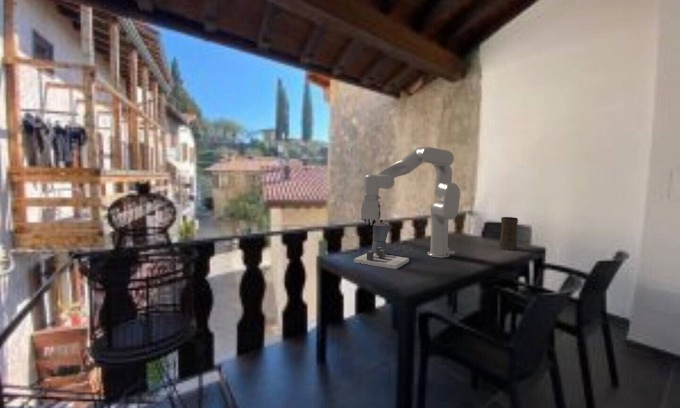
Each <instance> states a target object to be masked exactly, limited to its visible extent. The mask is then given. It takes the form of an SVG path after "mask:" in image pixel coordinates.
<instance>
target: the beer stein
mask: <svg viewBox="0 0 680 408" xmlns="http://www.w3.org/2000/svg"><path fill="white" fill-rule="evenodd" d="M500 221H501V230H500V238H499V242H498V243H499V245H498V248H499V247H500V248H503V249H502V250H504V249H516V248H517V249H518V247H517V245H518V243H517V240H518V237H517V235H518V232H517V231H518V223H519V219H518V217H512V216H502V217H501V218H500ZM500 248H499V249H500ZM517 249H516V250H517Z"/></svg>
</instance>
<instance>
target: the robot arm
mask: <svg viewBox="0 0 680 408" xmlns="http://www.w3.org/2000/svg"><path fill="white" fill-rule="evenodd" d="M454 159H455V157H454V154H453V153H452V152H451V151H450V150H446V149H440V148H435V147H429V146H420V147H417V148H415V149H414V150H412V151H411V152H410V153H408V154H407V155H406V156H404V157H403V158H402V159H400V160H398V161H396V162H394V163H393V164H391V165H389V166H387V167H386V168H384V169H383V170H381V171H380V172H378V173H377V174H367V175H365V177H364V193H363V194H364V195H363V200H362V204H361V208H360V209H361V210H360V221H363V222H365V224H366V225H367V230H366V233H367V232H369V233H373V224H375V223H380V220H381V217H382V211H381V210H382V209H381V208H382V207H381V201H380V200H381V196H379V194H380V193H379V191H380V190H379V189H384V190H390V189H391V188H393V187H394V185H395V183H396V182H395V178H397V177H402V176H406V175H409V174H410V173H411V172H413V171H414V170H415V169H417V168H419V166H421V165H422V164H424V163H427V164H431V165H432V166H433V167H434V169H435V171H436V181H435V186H434V187H435V189H434V194H435V196H436V198H437V197H438V198H439V199H442V200H436V201H434V202H433V203H432V204H431V206H430V210H429V211H430V216H431V217H430V219H431V223H430V224H431V229H430V250H429V251H427V253H426V254H427V256H429V257H433V258H438V259H439V258H440V259H441V258H442V259H443V258H449V257H450V255H453V256H454V255H455V254H456V253H455V250H452V249H450V248H449V247H448V239H449V220H454V219H455V218H456V217H457V215H458V214H459V207H460V199H461V190H460V187H459V185H458V184H456V183H454V182H453V180H452V179H453V171H452V170H453V169H452V166H451V165H452V164H453V163H454V161H455V160H454Z"/></svg>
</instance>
